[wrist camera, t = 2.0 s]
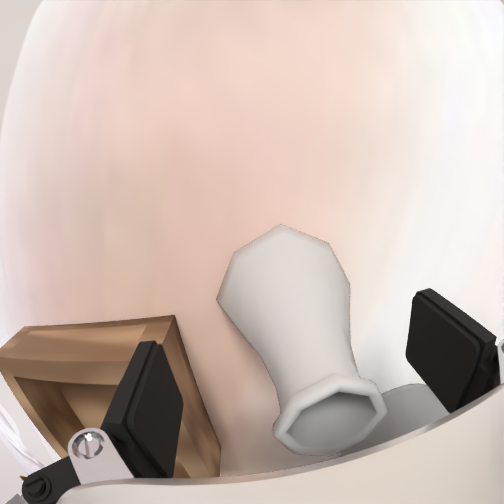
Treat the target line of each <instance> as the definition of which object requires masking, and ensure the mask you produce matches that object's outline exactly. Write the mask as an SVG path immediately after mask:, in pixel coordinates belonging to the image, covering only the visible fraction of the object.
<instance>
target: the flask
mask: <svg viewBox="0 0 504 504" xmlns="http://www.w3.org/2000/svg"><path fill="white" fill-rule="evenodd" d="M216 300H217V302H218V303H219V304H220V306H221V307H222V308H223V310H224V311H225V312H226V314H227V315H228V316H229V318H230V319H231V320H232V322H233V323H234V324H235V326H236V327H237V328H238V330H239V331H240V332H241V333H242V335H243V336H244V337H245V339H246V340H247V341H248V342H249V343H250V345H251V346H252V347H253V348H254V349H255V350H256V351H257V352H258V354H259V355H260V356H261V358H262V359H263V362H264V364H265V366H266V368H267V370H268V372H269V374H270V376H271V379H272V381H273V383H274V385H275V387H276V390H277V395H278V400H279V405H280V410H281V414H280V415H279V417H278V418H277V420H276V421H275V422H274V424H273V429H272V431H273V435H274V437H275V438H277V439H278V440H279V441H280V442H281V443H282V444H283V445H284V446H286V447H287V448H288V449H289V450H290V451H291V452H292V453H294V454H300V455H312V456H331V455H334V454H336V453H338V452H340V451H342V450H344V449H346V448H349V447H351V446H353V445H355V444H357V443H359V442H360V441H362V440H364V439H366V438H367V437H368V436H369V434H370V433H371V432H372V431H373V430H374V429H375V428H376V427H377V425H378V424H379V423H380V422H381V421H382V420H383V418H384V417H385V416H386V415H387V414H388V412H389V411H388V409H387V407H386V404H385V402H384V400H383V398H382V396H381V394H380V392H379V390H378V388H377V386H376V384H375V383H374V382H372V381H371V380H367V379H362V378H360V376H359V374H358V371H357V367H356V363H355V359H354V356H353V352H352V348H351V341H350V283H349V281H348V279H347V277H346V275H345V273H344V271H343V269H342V267H341V266H340V264H339V262H338V260H337V258H336V256H335V254H334V252H333V250H332V248H331V247H330V245H329V243H327V242H325V241H322V240H320V239H317V238H315V237H312V236H310V235H307V234H305V233H302V232H300V231H297V230H295V229H292V228H290V227H287V226H285V225H282V224H280V225H278V226H276V227H275V228H273V229H271V230H270V231H268V232H267V233H265V234H263V235H262V236H260V237H258V238H257V239H255V240H254V241H252V242H250V243H249V244H247V245H245V246H244V247H242V248H241V249H239V250H237V251H236V252H234V253H233V256H232V259H231V261H230V264H229V266H228V269H227V272H226V274H225V277H224V280H223V282H222V285H221V287H220V290H219V293H218V295H217V298H216Z"/></svg>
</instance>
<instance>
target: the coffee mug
mask: <svg viewBox="0 0 504 504" xmlns="http://www.w3.org/2000/svg"><path fill="white" fill-rule="evenodd" d="M381 396H382V398H383V400H384V402H385V404H386V407H387V409H388V411H389V412H388V414H387V415H386V416H385V417H384V418H383V420H382V421H381V422H380V423H379V424H378V425H377V427H376V428H375V429H374V430H373V431H372V432H371V433H370V434H369V436H368V437H367V438H366V439H364V440H362V441H360V442H359V443H357V444H355V445H353V446H351V447H349V448H346V449H344V450H342V451H340V452H341V455H342V456H345V455H349V454H352V453H355V452H359V451H362V450H365V449H368V448H371V447H374V446H377V445H379V444H382V443H385V442H388V441H390V440H393V439H396V438H398V437H401V436H403V435H406V434H408V433H410V432H413V431H415V430H417V429H420V428H422V427H424V426H426V425H428V424H431V423H433V422H435V421H437V420H439V419H441V418H443V417H445V416H447V415H449V414H450V413H449V412H448V411H447V410H446V409H445V407H444V406H443V405H442V403H441V402H440V401H439V400H438V398H437V397H436V396H435V394H434V393H433V392H432V391H431V389H430V388H429V387H428V386H427V385H424V384H409V385H404V386H401V387H398V388H395V389H392V390H390V391H388V392H386V393H384V394H382V395H381Z"/></svg>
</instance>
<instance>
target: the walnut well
mask: <svg viewBox="0 0 504 504" xmlns="http://www.w3.org/2000/svg"><path fill="white" fill-rule="evenodd" d="M152 340H155V341H156V342H157V344H161V345H162V346H163V349H164V351H165V354H166V357H167V360H168V362H169V365H170V368H171V370H172V373H173V375H174V378H175V380H176V383H177V385H178V388H179V390H180V393H181V395H182V398H183V402H184V407H183V413H182V419H181V426H180V432H179V439H178V446H177V453H176V460H175V467H174V475H173V477H172V478H213V477H220V450H221V447H220V444H219V442H218V439H217V437H216V435H215V432H214V430H213V427H212V425H211V422H210V420H209V417H208V414H207V412H206V409H205V406H204V404H203V401H202V398H201V396H200V393H199V390H198V387H197V384H196V382H195V379H194V376H193V373H192V370H191V367H190V364H189V361H188V358H187V355H186V352H185V349H184V345H183V342H182V339H181V336H180V332H179V329H178V326H177V322H176V319H175V315H170V316H161V317H152V318H142V319H132V320H121V321H110V322H98V323H84V324H69V325H52V326H29V327H23V328H22V329H21V330H20V331H19V332H18V333H17V334H16V335H14V336H13V337H12V338H11V339H10V340H9V341H8V342H7V343H6V344H4V345H3V346H2V347H1V348H0V372H1V374H2V375H3V377H4V379H5V381H6V382H7V384H8V386H9V387H10V389H11V391H12V392H13V394H14V395H15V397H16V399H17V400H18V402H19V403H20V405H21V406H22V408H23V409H24V411H25V412H26V414H27V415H28V417H29V418H30V419H31V421H32V422H33V424H34V425H35V426H36V428H37V429H38V430H39V432H40V433H41V434H42V435H43V437H44V438H45V439H46V441H47V442H48V443H49V444H50V445H51V447H52V448H53V449H54V450H55V451H56V453H57V454H58V455H59V456H60V457H61V458H62V459H63V458H65V457H67V456H69V454H68V444H69V441H70V440H71V438H72V437H73V436H74V435H75V434H76V433H78V432H79V431H81V430H84V429H87V428H97V429H100V427H101V425H102V422H103V420H104V417H105V415H106V413H107V410H108V408H109V406H110V403H111V401H112V399H113V396H114V394H115V392H116V390H117V387H118V385H119V383H120V381H121V379H122V378H123V376H124V373H125V371H126V369H127V367H128V365H129V362H130V360H131V358H132V356H133V354H134V352H135V350H136V348H137V345H138V343H139V342H141V341H152Z"/></svg>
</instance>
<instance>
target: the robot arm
mask: <svg viewBox="0 0 504 504" xmlns="http://www.w3.org/2000/svg"><path fill="white" fill-rule="evenodd" d="M496 338H497V337H496V336H495V335H493V334H492V333H491V332H490V331H488V330H487V329H486V328H484V327H483V326H482V325H481V324H479V323H478V322H477V321H475V320H474V319H473V318H471V317H470V316H469V315H467V314H466V313H465V312H463V311H462V310H460V309H459V308H458V307H456V306H455V305H454V304H452V303H451V302H449V301H448V300H447V299H445V298H444V297H442V296H441V295H440V294H438V293H437V292H435V291H434V290H432V289H431V288H428V289H425V290H421V291H418V292H417V293H416V295H415V296H414V297H413V300H412V309H411V318H410V326H409V334H408V341H407V347H406V359H407V361H408V362H409V363H410V365H411V366H412V367H413V368H414V369H415V371H416V372H417V373H418V374H419V376H420V377H421V378H422V379H423V381H424V382H425V383H426V384H427V386H428V387H429V388H430V389H431V391H432V392H433V393H434V394H435V396H436V397H437V398H438V400H439V401H440V402H441V403H442V405H443V406H444V407H445V409H446V410H447V411H448V412H449V413H450V414H449V415H447V416H445V417H443V418H441V419H439V420H437V421H435V422H433V423H431V424H428V425H426V426H424V427H422V428H420V429H417V430H415V431H413V432H410V433H408V434H406V435H403V436H401V437H398V438H396V439H393V440H390V441H388V442H385V443H382V444H379V445H377V446H374V447H371V448H368V449H365V450H362V451H359V452H355V453H352V454H349V455H345V456H342V457H338V458H334V459H331V460H327V461H323V462H318V463H314V464H310V465H305V466H300V467H295V468H290V469H284V470H278V471H272V472H265V473H258V474H249V475H240V476H228V477H213V478H172V477H173V475H174V467H175V460H176V453H177V446H178V439H179V432H180V426H181V419H182V413H183V407H184V402H183V398H182V395H181V393H180V390H179V388H178V385H177V383H176V380H175V378H174V375H173V373H172V370H171V368H170V365H169V362H168V360H167V357H166V354H165V351H164V349H163V346H162V345H161V344H157V342H156V341H155V340H152V341H141V342H139V343H138V345H137V348H136V350H135V352H134V354H133V356H132V358H131V360H130V362H129V365H128V367H127V369H126V371H125V373H124V376H123V378H122V379H121V381H120V383H119V385H118V387H117V390H116V392H115V394H114V396H113V399H112V401H111V403H110V406H109V408H108V410H107V413H106V415H105V417H104V420H103V422H102V425H101V427H100V429H97V428H87V429H84V430H81V431H79V432H78V433H76V434H75V435H74V436H73V437H72V438H71V440H70V441H69V444H68V454H69V456H67V457H65V458H63V459H61V460H59V461H57V462H55V463H53V464H51V465H49V466H47V467H45V468H43V469H41V470H38V471H36V472H34V473H32V474H31V475H29V476H28V477H27V478H26V479H25V480H24V482H23V485H22V496H20V495H18V494H16V495H15V496H14V497H13V498H12V499H11V500H10V501H8V502H7V503H6V504H504V339H503V340H502V341H500V342H499V344H498V347H497V346H496V345H495V341H496Z"/></svg>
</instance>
